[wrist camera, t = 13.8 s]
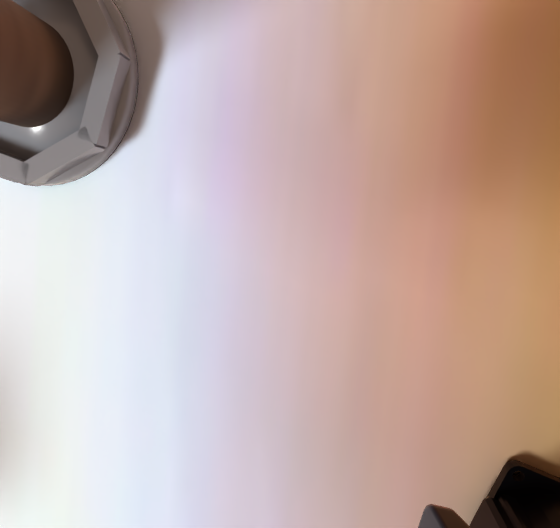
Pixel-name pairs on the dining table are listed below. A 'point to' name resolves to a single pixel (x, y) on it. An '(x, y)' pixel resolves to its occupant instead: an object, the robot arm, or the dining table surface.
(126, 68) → the slate saucer
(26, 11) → the brown metal-capped cylinder
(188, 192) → the dining table surface
